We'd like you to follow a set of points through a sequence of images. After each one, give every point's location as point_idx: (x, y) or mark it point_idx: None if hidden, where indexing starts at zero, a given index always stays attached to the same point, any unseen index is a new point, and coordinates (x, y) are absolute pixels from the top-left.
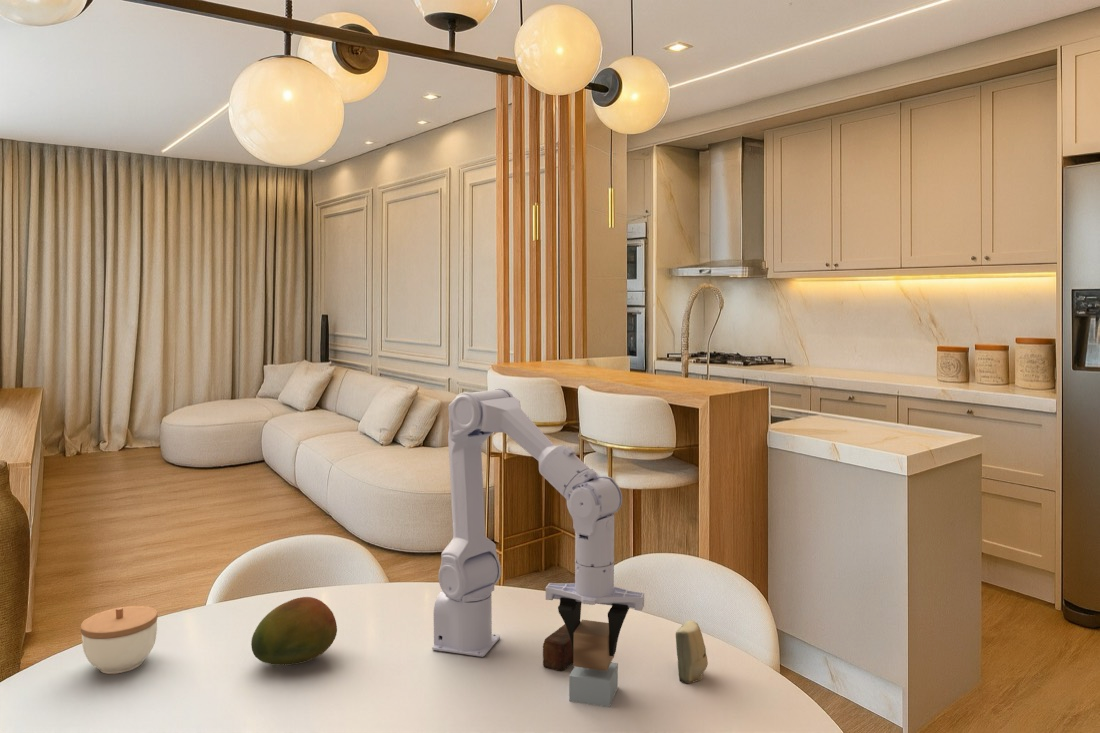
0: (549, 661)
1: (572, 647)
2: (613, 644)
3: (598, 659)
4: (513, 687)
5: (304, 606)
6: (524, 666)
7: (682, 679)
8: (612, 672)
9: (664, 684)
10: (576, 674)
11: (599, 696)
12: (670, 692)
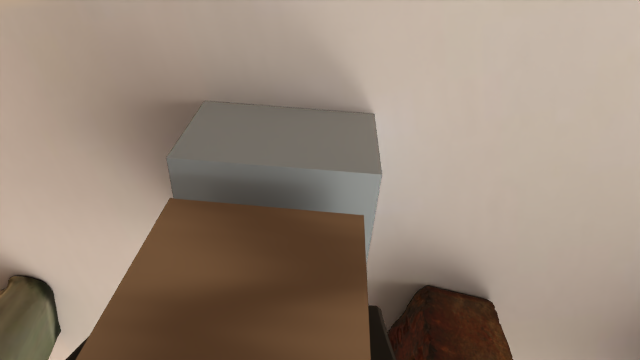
0: (475, 314)
1: (381, 322)
2: (83, 345)
3: (201, 244)
4: (615, 169)
5: None
6: (558, 294)
7: (30, 285)
8: None
9: (83, 263)
10: (346, 191)
11: (238, 121)
12: (43, 226)
